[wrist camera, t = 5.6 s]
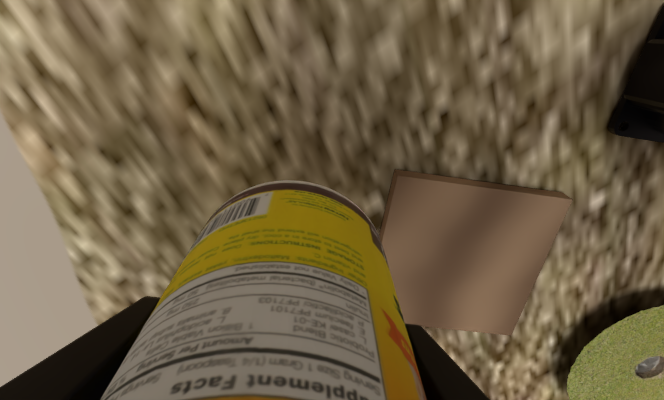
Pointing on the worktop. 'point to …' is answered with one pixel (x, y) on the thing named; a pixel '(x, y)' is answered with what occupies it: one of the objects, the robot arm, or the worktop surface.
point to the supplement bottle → (277, 309)
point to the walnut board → (467, 248)
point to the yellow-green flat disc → (622, 361)
